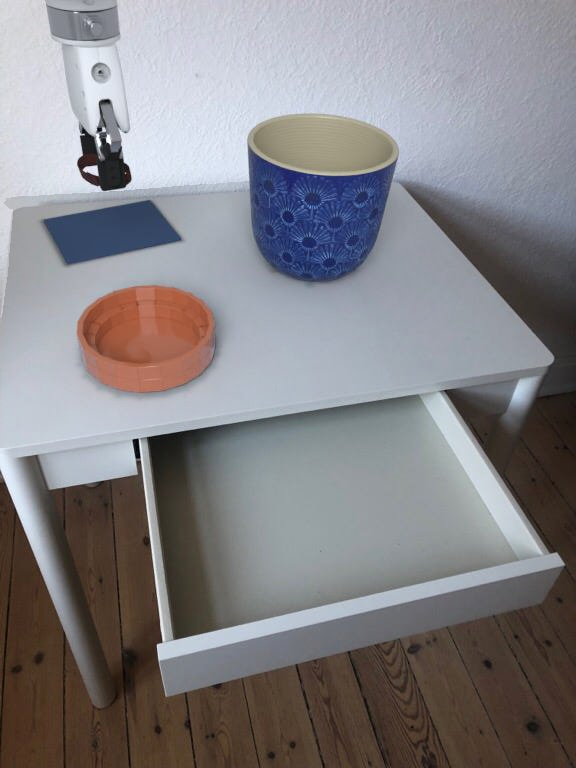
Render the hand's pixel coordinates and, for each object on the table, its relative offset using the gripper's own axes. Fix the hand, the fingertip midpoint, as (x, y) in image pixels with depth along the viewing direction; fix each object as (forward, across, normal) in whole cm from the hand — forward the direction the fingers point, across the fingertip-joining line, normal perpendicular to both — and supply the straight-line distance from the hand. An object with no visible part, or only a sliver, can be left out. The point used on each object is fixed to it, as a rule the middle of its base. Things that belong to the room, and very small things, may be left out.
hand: (104, 175), depth 82 cm
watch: (+1, 0, 0) cm, 1 cm away
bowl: (+16, -18, +1) cm, 24 cm away
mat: (+15, +13, -3) cm, 21 cm away
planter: (+16, -7, -28) cm, 33 cm away
